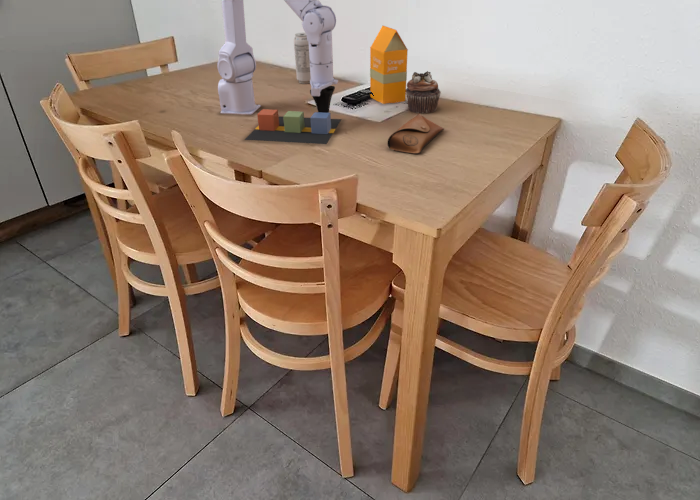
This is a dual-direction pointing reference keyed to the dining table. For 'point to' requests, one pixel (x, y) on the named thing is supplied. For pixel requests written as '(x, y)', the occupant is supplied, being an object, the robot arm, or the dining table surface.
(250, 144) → the dining table surface
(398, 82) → the orange juice
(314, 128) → the blue block
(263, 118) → the terracotta block
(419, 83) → the cupcake
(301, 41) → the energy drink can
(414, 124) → the sunglasses case
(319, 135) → the line mat
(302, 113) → the sage block
